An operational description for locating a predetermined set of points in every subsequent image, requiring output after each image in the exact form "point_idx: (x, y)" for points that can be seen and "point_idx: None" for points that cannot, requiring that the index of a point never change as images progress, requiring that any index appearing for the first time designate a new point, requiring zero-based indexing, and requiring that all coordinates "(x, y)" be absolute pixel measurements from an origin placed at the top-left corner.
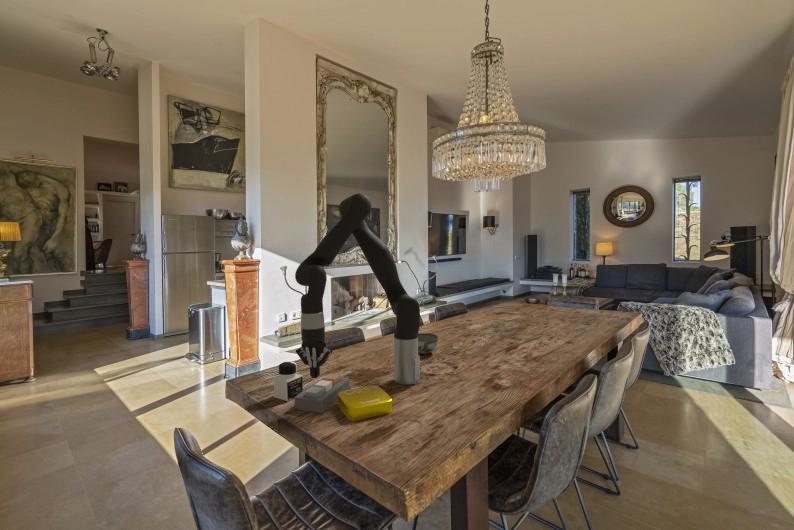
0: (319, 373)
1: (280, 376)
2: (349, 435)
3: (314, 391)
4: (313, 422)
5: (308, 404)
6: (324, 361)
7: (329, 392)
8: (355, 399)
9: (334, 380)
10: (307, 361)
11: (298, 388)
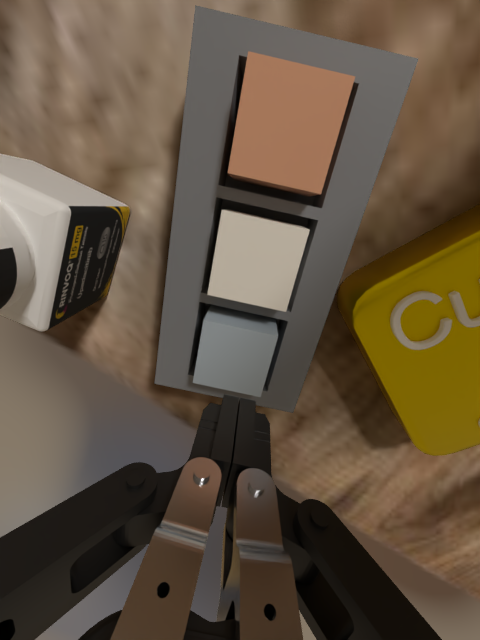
0: (268, 430)
1: None
2: (405, 493)
3: (242, 378)
4: (278, 436)
5: None
6: (341, 551)
7: (309, 324)
8: (455, 387)
9: (319, 194)
10: (142, 542)
11: (102, 241)
